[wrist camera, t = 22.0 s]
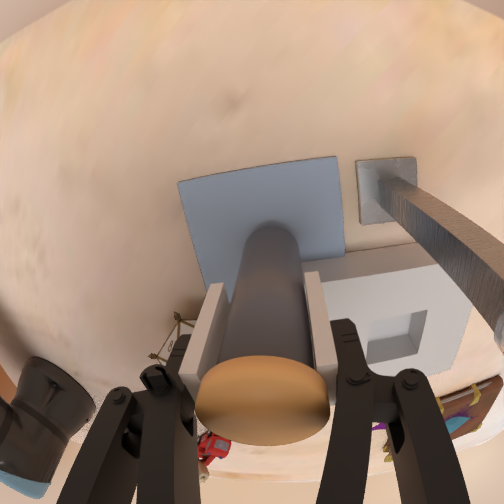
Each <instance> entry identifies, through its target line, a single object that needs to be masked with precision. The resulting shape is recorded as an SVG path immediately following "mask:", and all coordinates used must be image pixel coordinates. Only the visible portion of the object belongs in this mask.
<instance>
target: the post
mask: <svg viewBox="0 0 504 504" xmlns="http://www.w3.org/2000/svg"><path fill="white" fill-rule="evenodd" d="M355 163H356V174H357V185H358V199H359V216H360V224H361V225H368V224H376V223H384V222H392V221H397V222H398V223H399V224H400V225H401V226H402V227H403V228H404V229H405V230H406V231H407V232H408V233H409V234H410V235H411V236H412V237H413V238H414V239H415V240H416V241H417V242H418V243H419V244H420V245H421V246H422V247H423V248H424V249H425V250H426V252H427V253H428V254H429V255H430V256H431V257H432V258H433V259H434V260H435V261H436V262H437V263H438V264H439V265H440V267H441V268H442V269H443V270H444V271H445V272H446V273H447V274H448V276H449V277H450V278H451V279H452V280H453V281H454V282H455V284H456V285H457V286H458V287H459V288H460V289H461V291H462V292H463V293H464V294H465V295H466V297H467V298H468V299H469V300H470V302H471V303H472V304H473V305H474V306H475V308H476V309H477V310H478V312H479V313H480V314H481V315H482V317H483V318H484V319H485V321H486V322H487V323H488V325H489V326H490V327H491V329H492V330H493V331H494V332H495V327H496V324H497V321H498V318H499V316H500V314H501V312H502V310H503V308H504V244H503V243H502V242H500V241H499V240H498V239H496V238H495V237H494V236H492V235H491V234H490V233H488V232H487V231H485V230H484V229H483V228H481V227H480V226H478V225H477V224H475V223H474V222H473V221H471V220H470V219H468V218H467V217H465V216H464V215H462V214H461V213H459V212H458V211H456V210H454V209H453V208H451V207H450V206H448V205H447V204H445V203H443V202H442V201H440V200H438V199H437V198H435V197H434V196H432V195H430V194H428V193H427V192H425V191H423V190H422V189H420V188H418V187H417V164H416V158H415V157H400V158H384V159H371V160H359V161H355Z"/></svg>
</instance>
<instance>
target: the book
mask: <svg viewBox="0 0 504 504" xmlns="http://www.w3.org/2000/svg"><path fill="white" fill-rule="evenodd" d="M502 387H503V380H502V378H501V377H500V376H496V377H494V378H492V379H489V380H487V381H485V382H482V383H480V384H478V385H476V384H475V383H474V384H472V385H471V386H470V387H469V388H468V389H465V390H463V391H460V392H457V393H455V394H452V395H449V396H446V397H444V398H441V399H439V397H436V401H437V403H438V406H439V408H440V411H441V413H442V416H443V418H444V421H445V423H446V426H447V429H448V432H449V434H450V437H451V440H453V439H456V438H458V437H460V436H463V435H465V434H467V433H472V432H475V431H477V430H478V429H479V428H480V427H481V425H482V421H483V420H484V418H485V417H486V415H487V413H488V412H489V410H490V408H491V407H492V405H493V403H494V401H495V400H496V398H497V396H498V394H499V392H500V391H501V389H502ZM377 429H386V428H385V424H384V423H379V425H378V426H377V425H376V426H375V427H373V428H372V430H377ZM383 452H389V454H388V455H387V456H386V457H385V459H384V462H391V461H393V457H392V453H391V448H390V444H389V440H388V443H387V445H386V446H385V447H384V449H383Z"/></svg>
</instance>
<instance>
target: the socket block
mask: <svg viewBox="0 0 504 504" xmlns="http://www.w3.org/2000/svg"><path fill="white" fill-rule="evenodd" d="M301 266H302V272H303V279H304V286H305V277H304V273H307V272H314V271H318V272H319V277H320V281H321V285H322V289H323V294H324V298H325V303H326V307H327V312H328V316H329V321H331V320H338V319H345V318H349V319H350V320H351V321H352V322H353V323H354V324H355V325H356V329H357V332H358V335H359V338H360V342H361V345H362V349H363V352H364V355H365V359H366V362H367V365H368V367H369V368H370V369H371V370H372V371H373V372H374V373H376V374H379V375H384V376H396V375H397V374H398V373H399V372H400V371H402V370H404V369H408V368H414V369H418V370H420V371H421V372H423V373H424V374H425V376H426V377H427V376H430V375H434V374H437V373H441V372H444V371H447V370H450V369H451V367H452V365H453V362H454V360H455V357H456V355H457V352H458V349H459V346H460V344H461V341H462V338H463V335H464V332H465V329H466V326H467V322H468V319H469V316H470V312H471V309H472V305H473V304H472V303H471V302H470V300H469V299H468V298H467V297H466V295H465V294H464V293H463V292H462V291H461V289H460V288H459V287H458V286H457V285H456V284H455V282H454V281H453V280H452V279H451V278H450V277H449V276H448V274H447V273H446V272H445V271H444V270H443V269H442V268H441V267H440V265H439V264H438V263H437V262H436V261H435V260H434V259H433V258H432V257H431V256H430V255H429V254H428V253H427V252H426V250H425V249H424V248H423V247H422V246H421V245H420V244H419V243H411V244H404V245H397V246H390V247H383V248H376V249H369V250H362V251H355V252H348V253H345V256H344V257H337V258H329V259H322V260H315V261H307V262H301ZM305 294H306V286H305ZM306 301H307V296H306ZM307 308H308V306H307ZM311 341H312V340H311ZM314 368H315V367H314Z"/></svg>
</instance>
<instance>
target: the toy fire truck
mask: <svg viewBox="0 0 504 504" xmlns="http://www.w3.org/2000/svg"><path fill="white" fill-rule="evenodd" d="M197 446H198V468H199V484H200V483H201V482H205V481H206V480H207V478H208V477H209V472H208V469H207V467H206V466H208V465H209V464H210V463H211V462H212V461H213V459H214V458H215V456H216V457H219V458H220V459H222V458H225V457H226V456H227V455H228V453H229V450H230V447H231V440H228V439H225V438H223V437H221V436H219V435H217V434H215V433H213V432H212V431H210V430H208V432H207V433H206V434H205V435H203V436H202V437H201V436H199V437H198V438H197ZM199 457H200V458H203V459H201V460H200V459H199Z"/></svg>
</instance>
